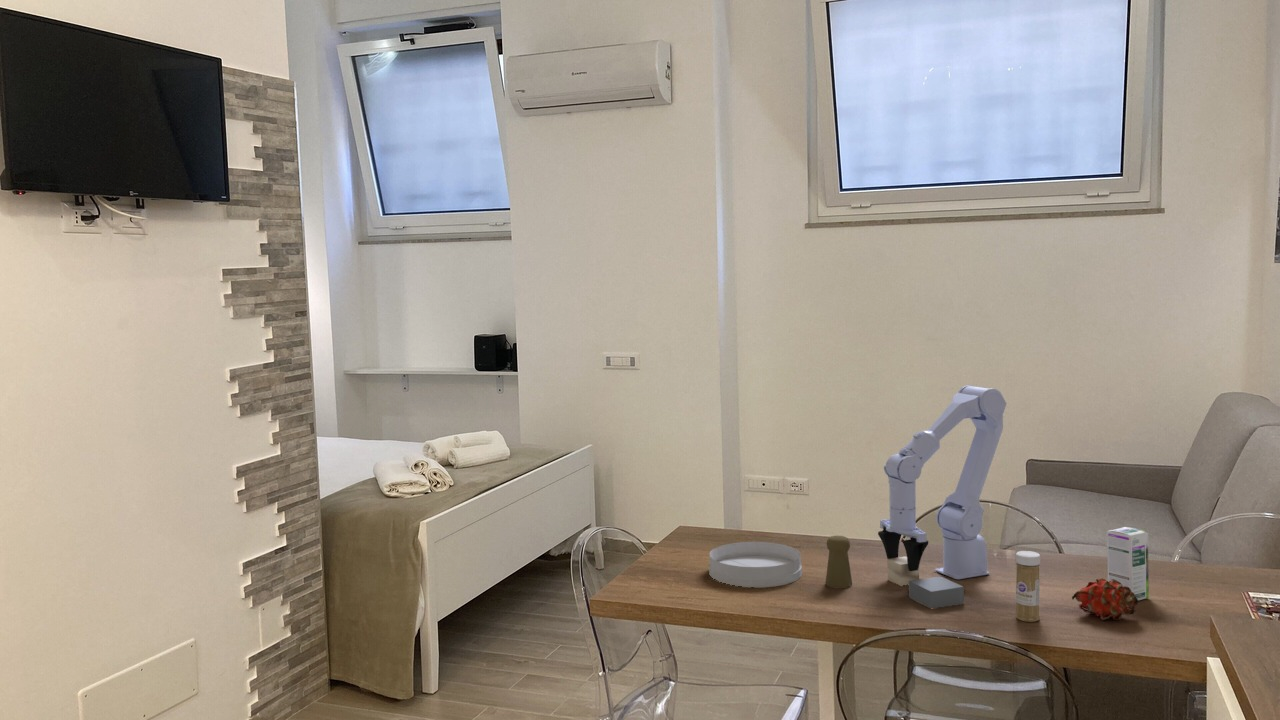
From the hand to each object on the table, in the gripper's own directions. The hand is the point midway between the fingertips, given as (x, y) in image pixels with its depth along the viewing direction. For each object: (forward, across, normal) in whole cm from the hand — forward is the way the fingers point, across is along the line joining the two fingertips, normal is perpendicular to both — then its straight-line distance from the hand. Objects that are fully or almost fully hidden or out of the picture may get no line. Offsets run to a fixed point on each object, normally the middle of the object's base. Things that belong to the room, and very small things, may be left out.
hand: (902, 565), depth 217 cm
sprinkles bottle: (+4, +31, +7) cm, 32 cm away
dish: (+4, -21, -27) cm, 34 cm away
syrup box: (+4, +30, +35) cm, 46 cm away
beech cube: (+4, 0, 0) cm, 4 cm away
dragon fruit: (+4, +37, +21) cm, 43 cm away
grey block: (+4, +14, -2) cm, 15 cm away
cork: (+4, -5, -14) cm, 15 cm away
